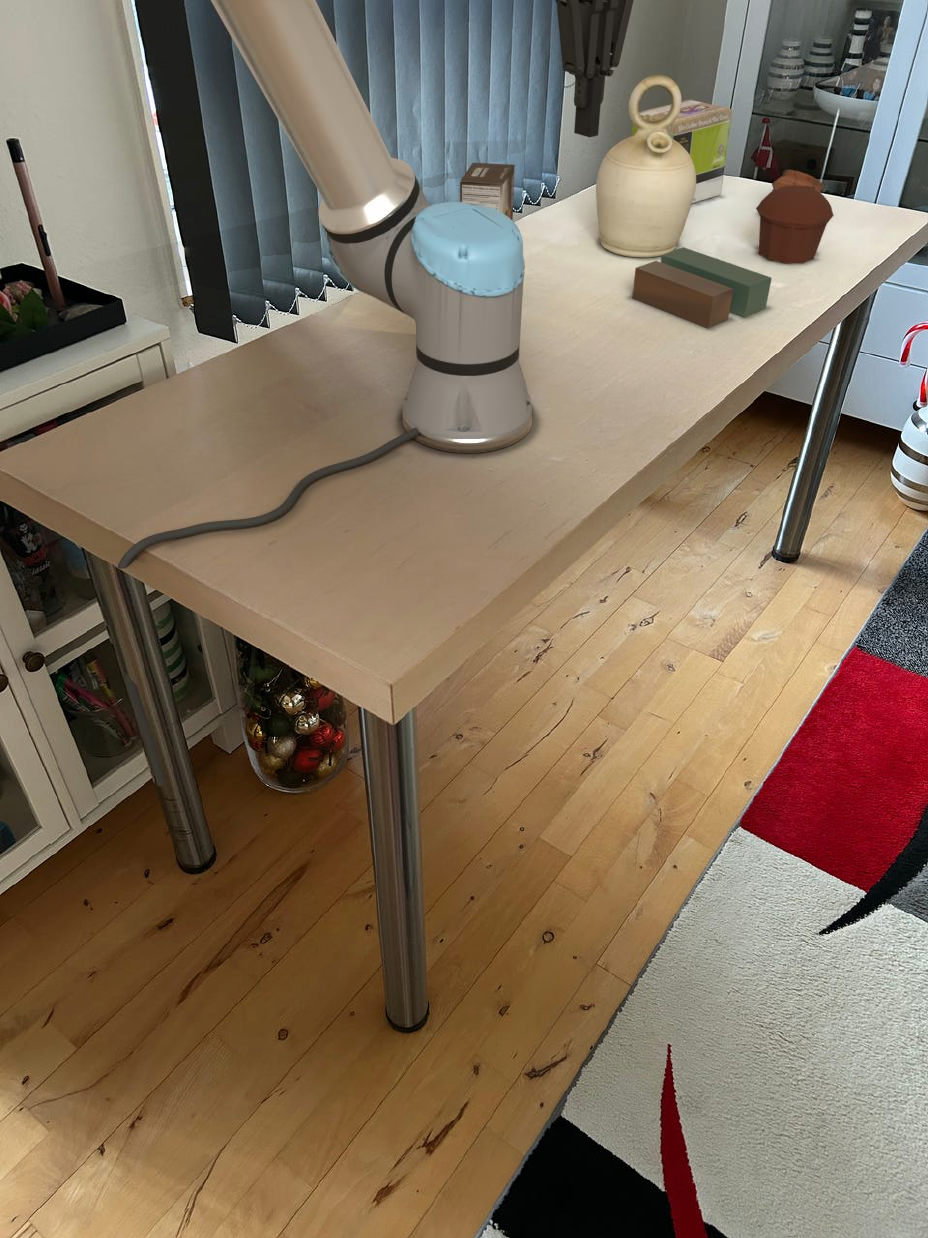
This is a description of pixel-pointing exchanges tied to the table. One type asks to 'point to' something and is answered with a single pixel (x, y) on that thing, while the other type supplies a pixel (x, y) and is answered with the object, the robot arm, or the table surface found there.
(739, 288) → the green bar
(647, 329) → the table surface
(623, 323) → the table surface
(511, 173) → the coffee box
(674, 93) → the jug
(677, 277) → the walnut bar
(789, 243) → the muffin
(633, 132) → the tea box
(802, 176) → the bread bun
